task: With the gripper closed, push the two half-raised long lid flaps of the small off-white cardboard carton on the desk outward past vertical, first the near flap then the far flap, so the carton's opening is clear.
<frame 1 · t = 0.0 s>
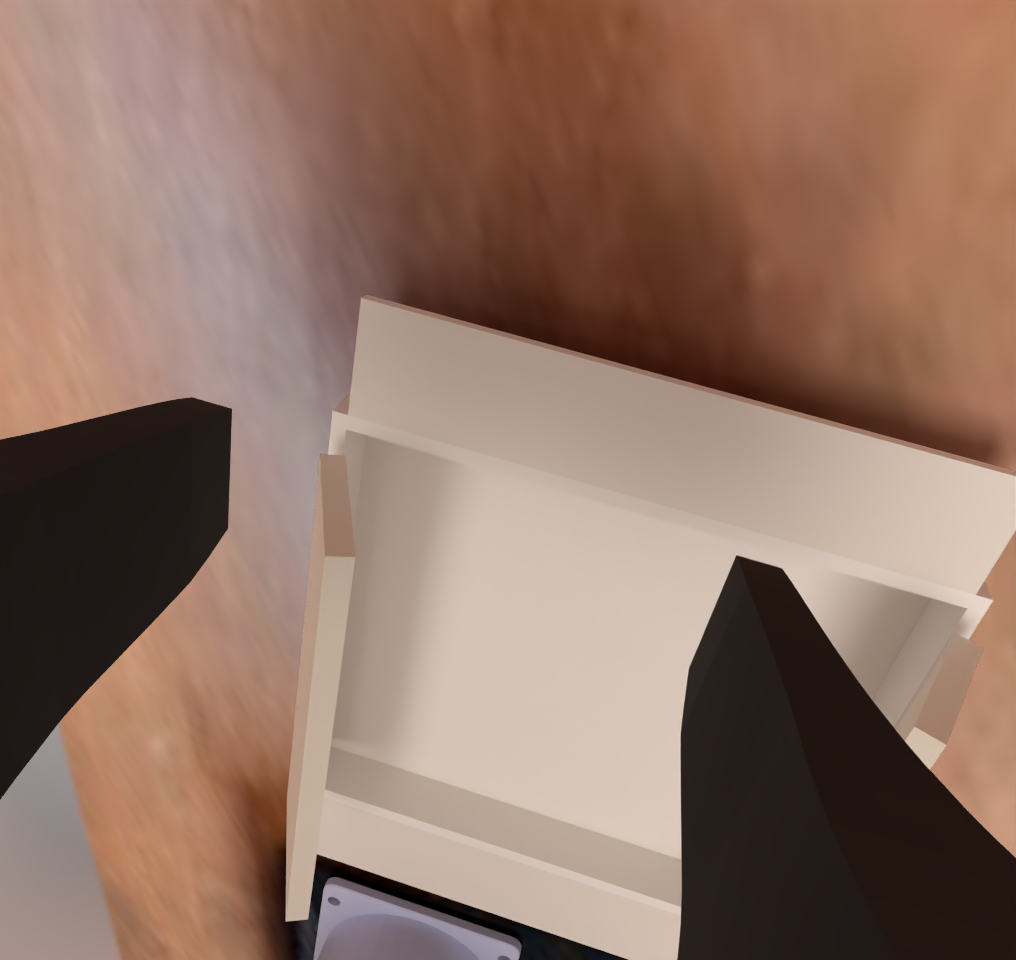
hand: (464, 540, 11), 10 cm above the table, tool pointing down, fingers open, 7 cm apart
carton: (588, 664, 25), on the table
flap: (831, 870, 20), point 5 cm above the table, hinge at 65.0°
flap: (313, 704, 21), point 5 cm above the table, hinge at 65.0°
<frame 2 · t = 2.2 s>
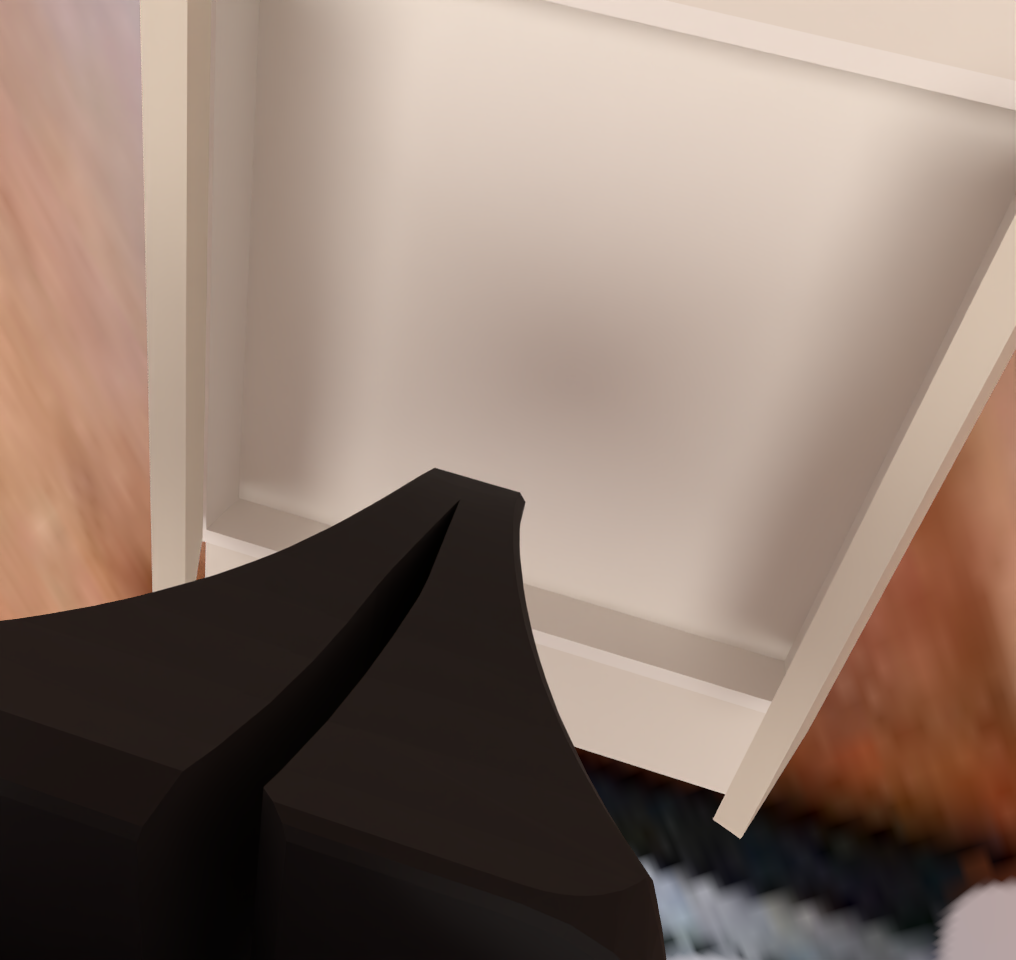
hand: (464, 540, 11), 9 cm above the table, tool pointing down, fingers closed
carton: (561, 344, 19), on the table
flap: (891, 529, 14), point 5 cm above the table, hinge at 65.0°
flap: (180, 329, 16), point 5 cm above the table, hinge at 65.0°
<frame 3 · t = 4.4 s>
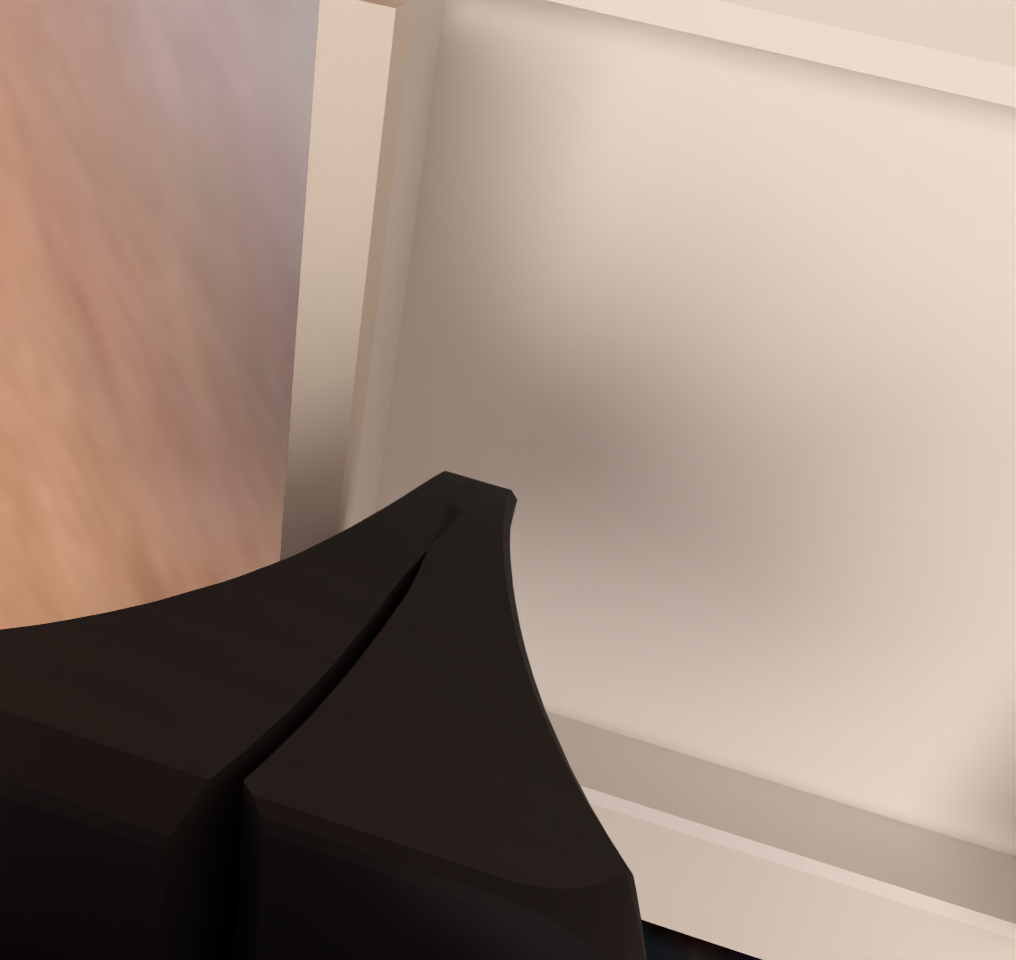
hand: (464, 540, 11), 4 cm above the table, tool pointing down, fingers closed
carton: (797, 492, 15), on the table
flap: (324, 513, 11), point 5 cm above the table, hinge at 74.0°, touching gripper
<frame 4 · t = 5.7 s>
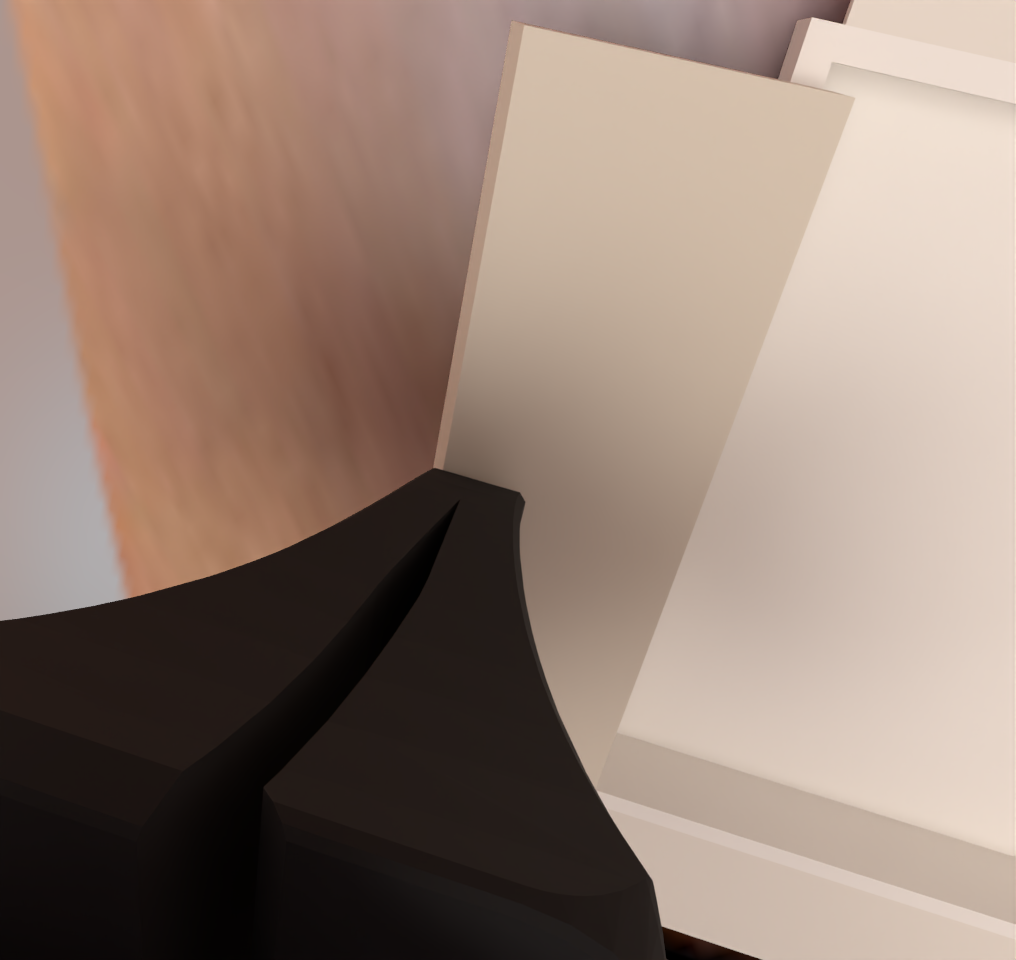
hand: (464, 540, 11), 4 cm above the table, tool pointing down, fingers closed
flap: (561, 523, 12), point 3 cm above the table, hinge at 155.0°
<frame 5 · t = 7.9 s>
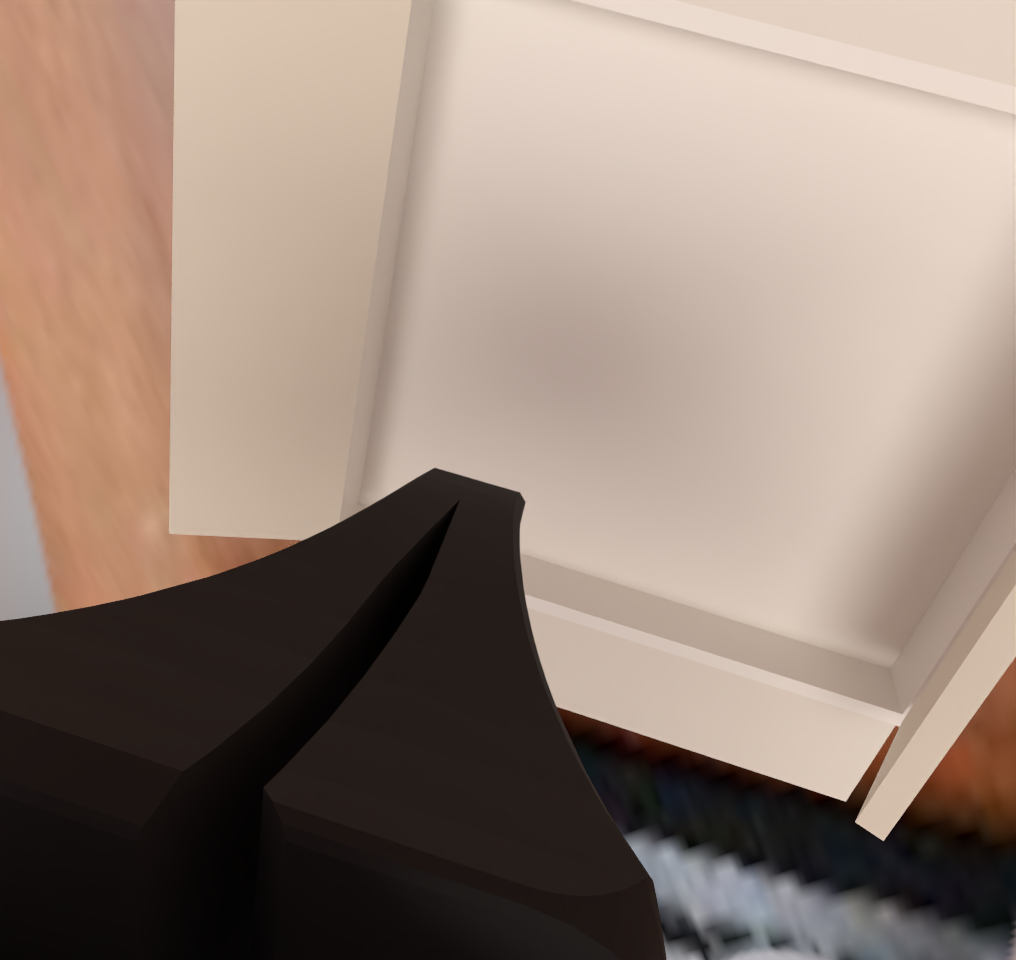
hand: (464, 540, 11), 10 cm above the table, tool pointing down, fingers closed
carton: (696, 362, 20), on the table
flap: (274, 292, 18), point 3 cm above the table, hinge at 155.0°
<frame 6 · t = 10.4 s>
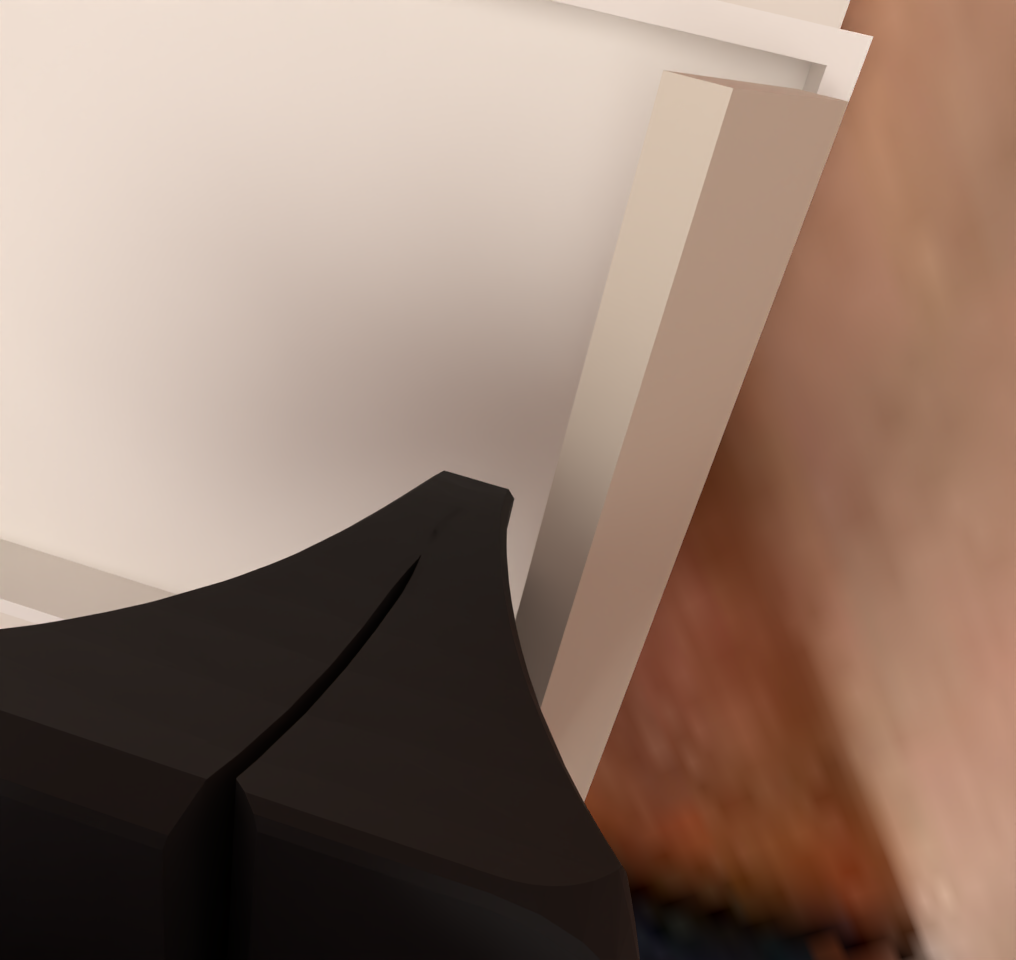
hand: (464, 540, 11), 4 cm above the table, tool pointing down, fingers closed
carton: (283, 348, 16), on the table
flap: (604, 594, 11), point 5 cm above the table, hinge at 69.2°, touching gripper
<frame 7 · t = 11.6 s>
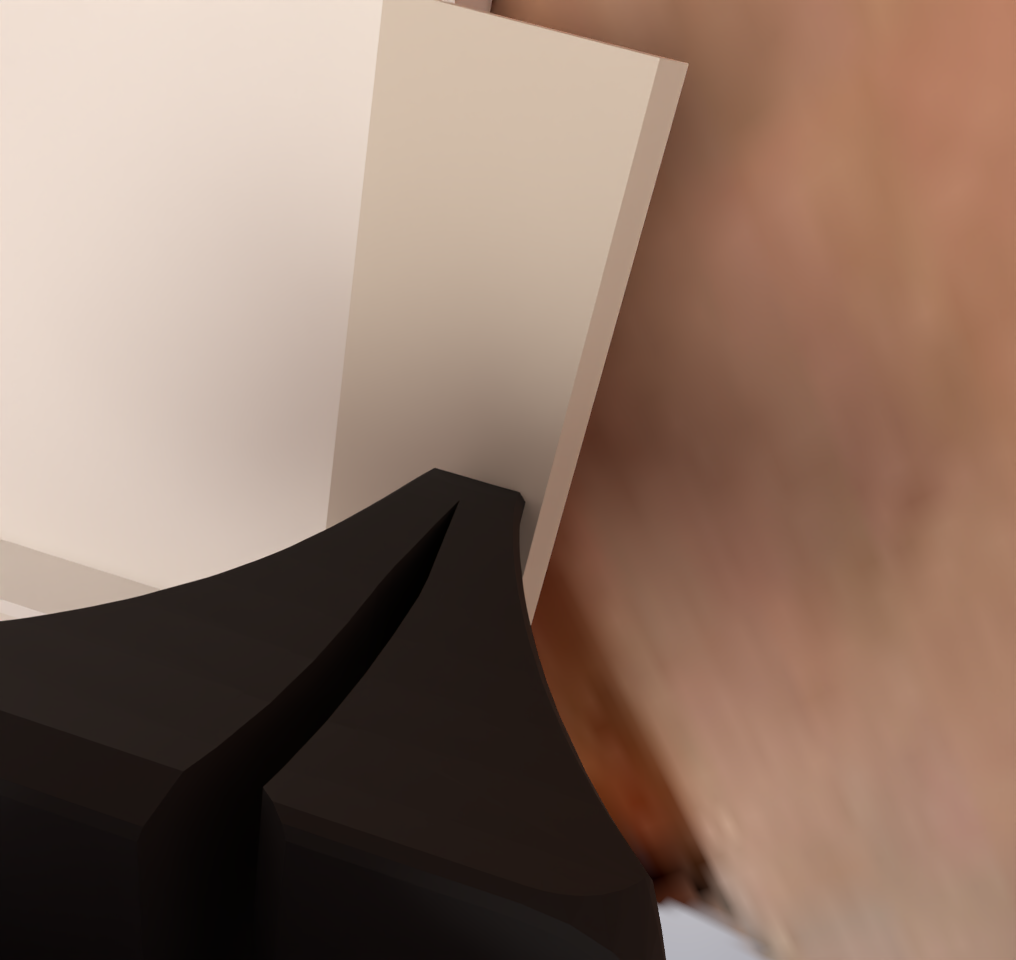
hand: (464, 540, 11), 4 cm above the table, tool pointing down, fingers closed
carton: (39, 278, 16), on the table
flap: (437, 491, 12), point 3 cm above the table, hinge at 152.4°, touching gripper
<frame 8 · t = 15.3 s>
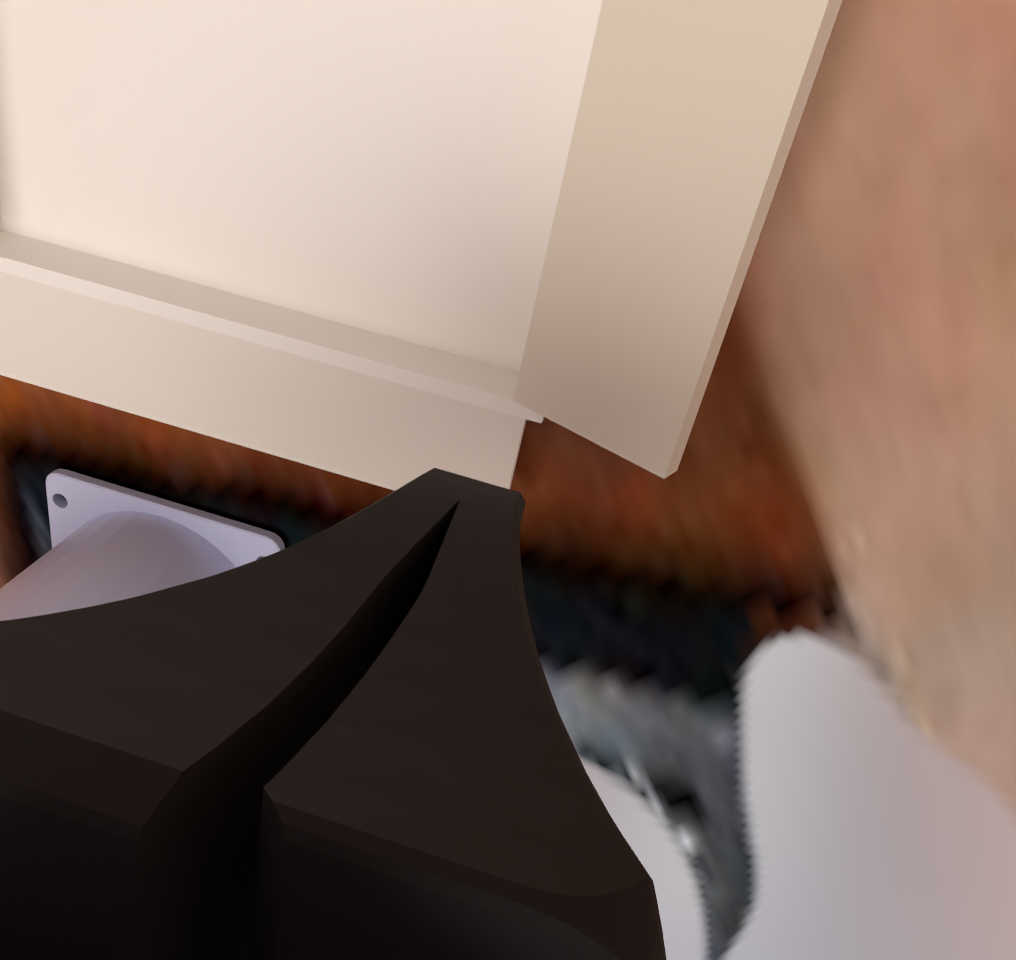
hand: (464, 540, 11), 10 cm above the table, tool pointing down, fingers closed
carton: (284, 20, 19), on the table
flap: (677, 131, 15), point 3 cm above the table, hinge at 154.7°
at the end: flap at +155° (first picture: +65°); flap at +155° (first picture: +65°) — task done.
